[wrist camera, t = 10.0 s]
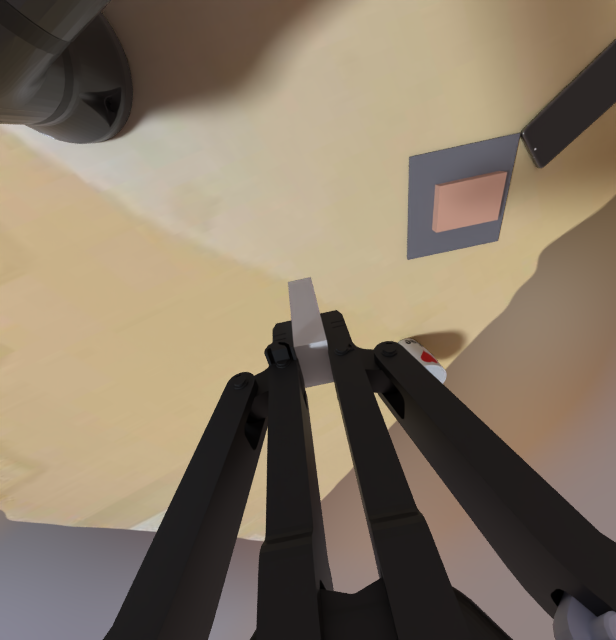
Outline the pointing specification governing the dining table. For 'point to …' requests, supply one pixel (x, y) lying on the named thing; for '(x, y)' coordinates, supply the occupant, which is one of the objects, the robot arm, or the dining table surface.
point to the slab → (468, 201)
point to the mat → (450, 168)
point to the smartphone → (573, 109)
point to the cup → (424, 358)
